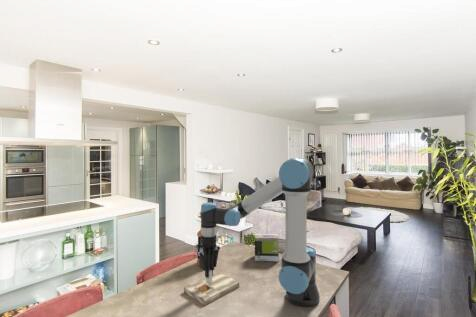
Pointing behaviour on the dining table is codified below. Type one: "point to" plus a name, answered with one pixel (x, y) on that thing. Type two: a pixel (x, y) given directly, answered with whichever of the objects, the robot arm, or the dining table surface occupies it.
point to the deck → (211, 288)
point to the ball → (203, 288)
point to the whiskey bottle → (199, 246)
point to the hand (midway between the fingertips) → (209, 283)
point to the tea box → (266, 247)
